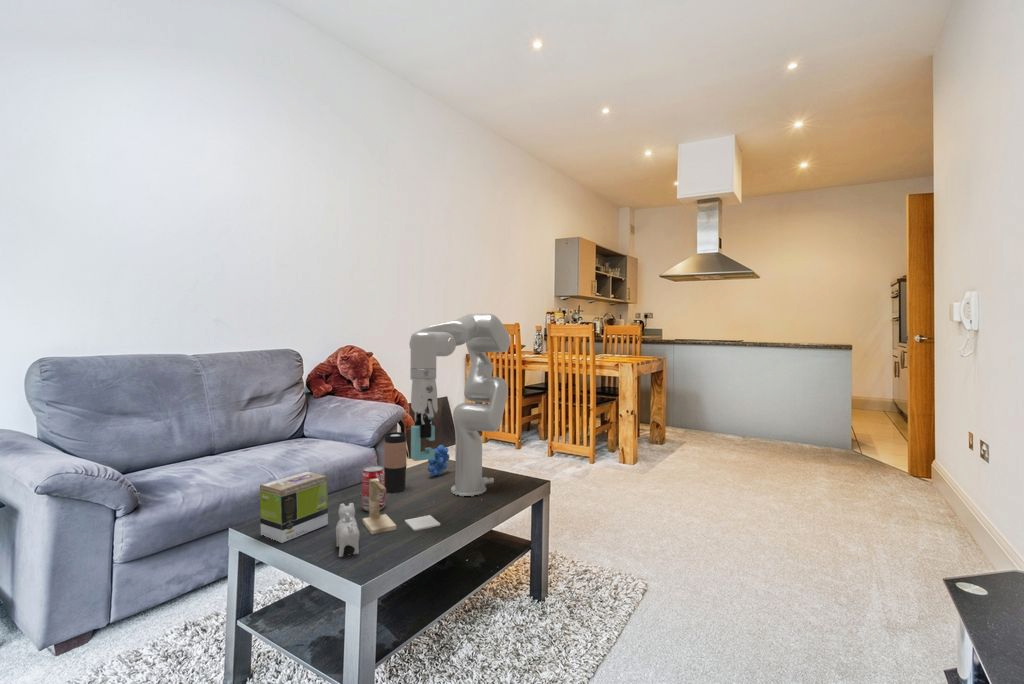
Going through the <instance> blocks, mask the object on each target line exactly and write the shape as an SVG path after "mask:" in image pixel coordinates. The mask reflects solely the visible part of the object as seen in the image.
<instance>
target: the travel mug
mask: <svg viewBox="0 0 1024 684" xmlns="http://www.w3.org/2000/svg"><path fill="white" fill-rule="evenodd" d="M383 449H384V451H383V452H384V453H383V454H384V455H383V463H384V464H383V470H384V472H385V488H386V493H391V494H392V493H401V492H404V491H405V489H406V477H407V476H406V474H407V434H406V432H401V431H398V432H397V431H396V432H395V431H394V432H387V433H385V434H384V447H383Z"/></svg>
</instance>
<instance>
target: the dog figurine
mask: <svg viewBox="0 0 1024 684" xmlns="http://www.w3.org/2000/svg"><path fill="white" fill-rule="evenodd" d="M337 513H338V517H339V520H338V521H337V523H336V526H335V535H336V536H335V538H336V547H338V548H339V550H338V557H339V558H342V557H344V552H345V548H346V546H350V547H352V548H353V550H354V551H353V552H352V554H353V555H359V552H360V551H359V550H360V549H359V546H360V545H359V542H360V541H359V540H360V535H361V533H360V530H359V526H358V523H357V520H356V517H355V515H356V509H355V504H354V503H353V502H350V503H348V505H346V504H345V503H340V505H339V507H338V512H337Z"/></svg>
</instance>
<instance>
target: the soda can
mask: <svg viewBox="0 0 1024 684" xmlns="http://www.w3.org/2000/svg"><path fill="white" fill-rule="evenodd" d="M376 478H377V479H379V480H380V483H381V484H382V485H383V486H384V487H385V472H384V466H381V465H371V466H366V467H364V468H363V471H362V473H361V508H362V509H363V511H365V512H368V513H369V479H376ZM385 507H386V493H381V492H380V491H379V511H381V510H383V509H384V508H385Z"/></svg>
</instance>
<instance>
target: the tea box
mask: <svg viewBox="0 0 1024 684" xmlns="http://www.w3.org/2000/svg"><path fill="white" fill-rule="evenodd" d="M328 495H329V494H328V476H327V475H323V474H318V473H315V472H310V471H307V470H306V471H303V472H302V471H301V472H299V473H295V474H291V475H288V476H285V477H282V478H278V479H275V480H272V481H267V482H264V483H261V484H259V506H260V507H259V509H260V511H259V516H260V519H259V520H260V523H259V524H260V536H262V535H264V536H266V537H269V538H271V539H270V540H272V539H273V540H272V541H274V540H276V541H275V542H277V541H278V542H277V543H280V544H283V543H285V542H288V541H291V540H293V539H296V538H298V537H301V536H303V535H305V534H308V533H310V532H312V531H315V530H317V529H320V528H322V527H326V526H327V525H329V512H328V511H329V507H328V506H329V505H328V504H329V501H328V500H329V499H328V498H329V497H328ZM266 537H265V538H266ZM269 538H268V539H269Z"/></svg>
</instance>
